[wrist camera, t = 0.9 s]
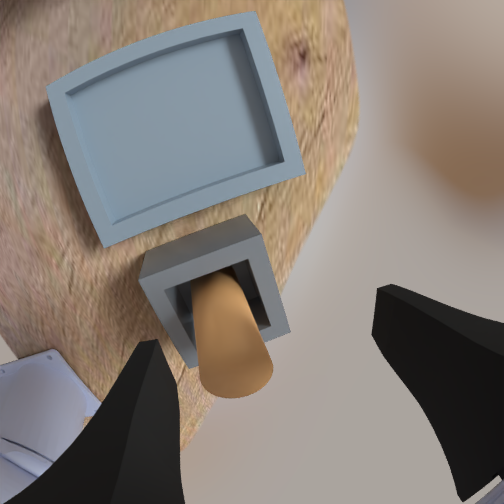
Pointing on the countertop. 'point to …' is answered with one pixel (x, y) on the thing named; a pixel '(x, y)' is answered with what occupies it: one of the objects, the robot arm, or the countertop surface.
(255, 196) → the countertop surface
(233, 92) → the tray
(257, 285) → the pin cup
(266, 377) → the orange pin
